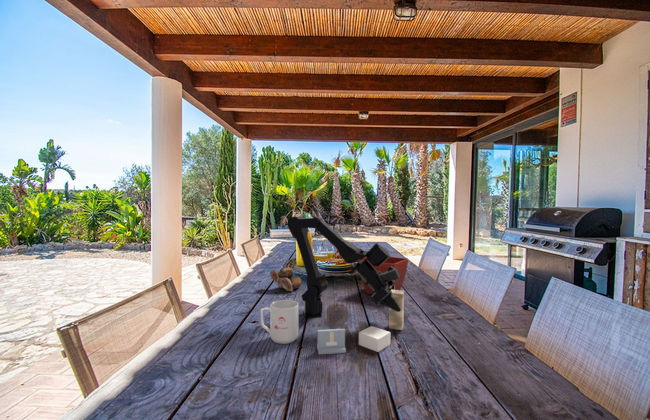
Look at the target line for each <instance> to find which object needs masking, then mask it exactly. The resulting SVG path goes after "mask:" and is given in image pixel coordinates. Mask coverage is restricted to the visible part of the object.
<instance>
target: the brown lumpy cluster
mask: <svg viewBox="0 0 650 420" xmlns="http://www.w3.org/2000/svg"><path fill="white" fill-rule="evenodd" d="M269 276H270V277H271V280H272V281H274V282H275V283H276V284H277V287H278V288H280V289H284V290H285V291H286V292H293V291H294V290H295V289H299V288H301V285H302V283H303V279H302V278H300V277H297V276H294V270H293V268H291V267H284V268H281V269H280V271H278V269H277V270H275V269H273V270H271V271H270V273H269Z"/></svg>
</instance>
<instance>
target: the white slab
mask: <svg viewBox="0 0 650 420" xmlns="http://www.w3.org/2000/svg"><path fill="white" fill-rule="evenodd" d="M358 345H359V346H361V347H363V348H366V349H369V350H372V351H375V352H376V353H379V352H381V351H382V350H384V349H385V348H387V347H389V346H390V345H391V332H390V331H387V330H385V329H382V328H380V327H379V328H378V327H376V326H373V325H371V326H368V327H367V328H364V329H363V330H361V331H359V332H358Z"/></svg>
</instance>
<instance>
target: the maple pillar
mask: <svg viewBox="0 0 650 420" xmlns="http://www.w3.org/2000/svg"><path fill="white" fill-rule="evenodd" d="M391 290H392V289H391ZM392 297H393V299H394V300H395V302H396V303H397V305H398V306H399V308H400V309H401V310H400V311H399V312H397V311H395V310H393V309H391V308H389V307H388V329H392V330H396V331H397V330H398V331H402V330H403V327H404V325H405V324H404V323H405V322H404V318H405V316H404V315H405V314H404V310H405V309H404V308H405V306H404V305H405V290H402V289H401V290H392Z"/></svg>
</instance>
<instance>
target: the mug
mask: <svg viewBox="0 0 650 420" xmlns="http://www.w3.org/2000/svg"><path fill="white" fill-rule="evenodd" d="M299 307H300V306H299V301H296V300H292V299H278V300H275V301H272V302H271V303H270V307H262V308H260V325H261V327H262V328H263V329H264V330H265V331H267V332H268V333H269V335H270V339H271V340H272V341H273V342H275V343H276V344H281V345H282V344H283V345H284V344H285V345H286V344H291V343H294V341H296V339H297V338H298V336H299ZM264 311H268V312H270V318H269V319H270V322H269V323H270V325H269V326H270V327H268V326H267V325H265V323H264Z"/></svg>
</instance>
